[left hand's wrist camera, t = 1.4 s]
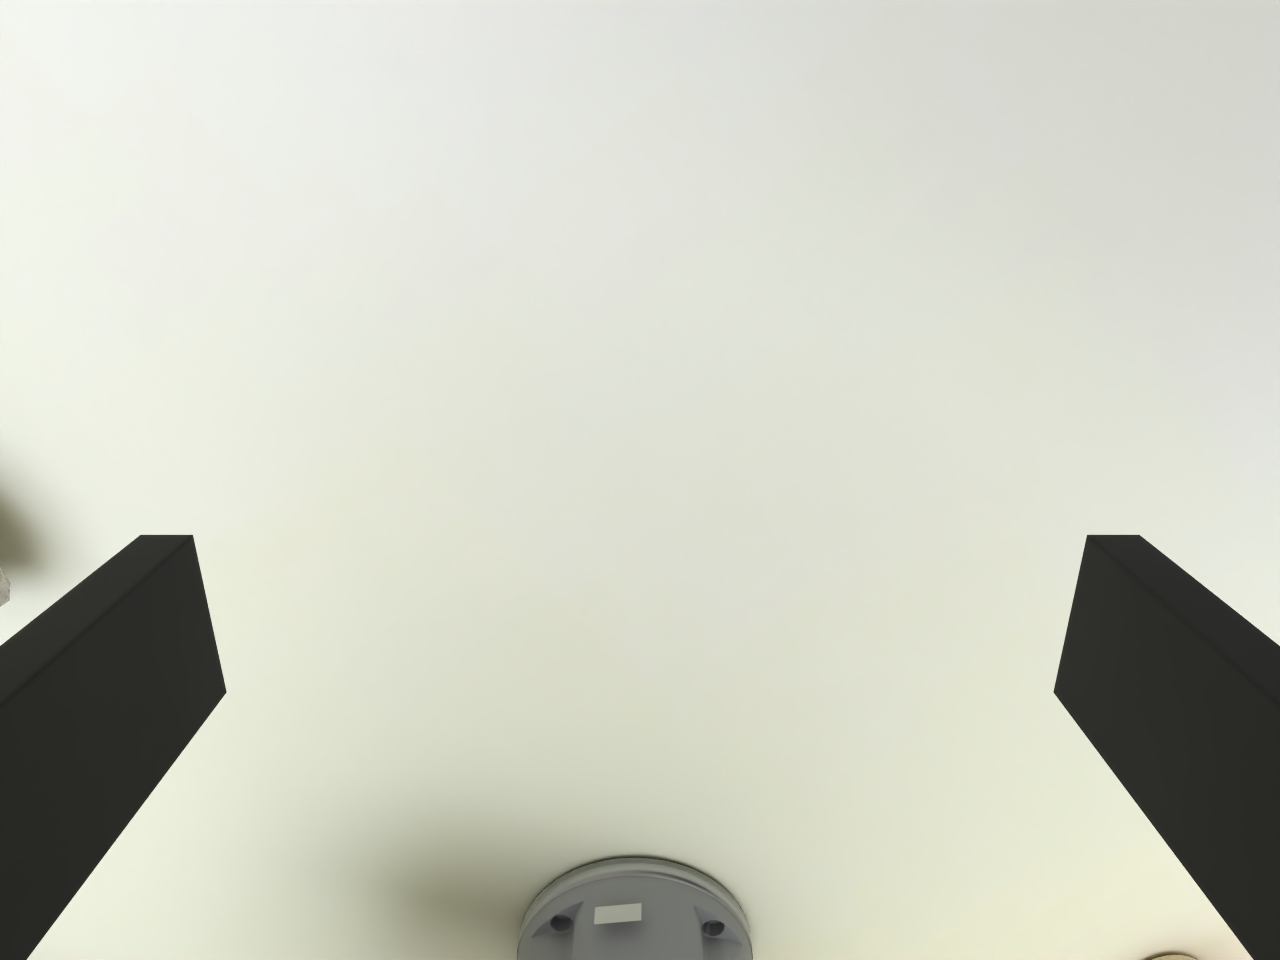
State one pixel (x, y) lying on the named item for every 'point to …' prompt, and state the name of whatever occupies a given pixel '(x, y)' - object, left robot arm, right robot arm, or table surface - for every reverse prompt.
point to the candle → (1174, 957)
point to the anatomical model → (4, 588)
